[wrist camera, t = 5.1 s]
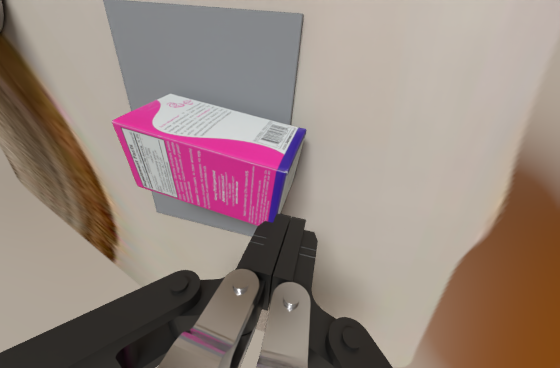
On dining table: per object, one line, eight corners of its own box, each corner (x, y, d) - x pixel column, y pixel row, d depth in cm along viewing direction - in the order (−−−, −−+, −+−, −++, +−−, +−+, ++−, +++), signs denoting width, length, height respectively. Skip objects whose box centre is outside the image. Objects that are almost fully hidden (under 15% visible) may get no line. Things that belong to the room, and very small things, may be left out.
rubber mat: (159, 210, 27) (156, 212, 26) (107, 0, 16) (102, -2, 16) (277, 240, 24) (276, 242, 24) (303, 14, 14) (302, 13, 14)
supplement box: (292, 186, 20) (180, 149, 21) (308, 127, 16) (169, 87, 17) (272, 235, 16) (133, 186, 17) (287, 172, 12) (106, 114, 13)
